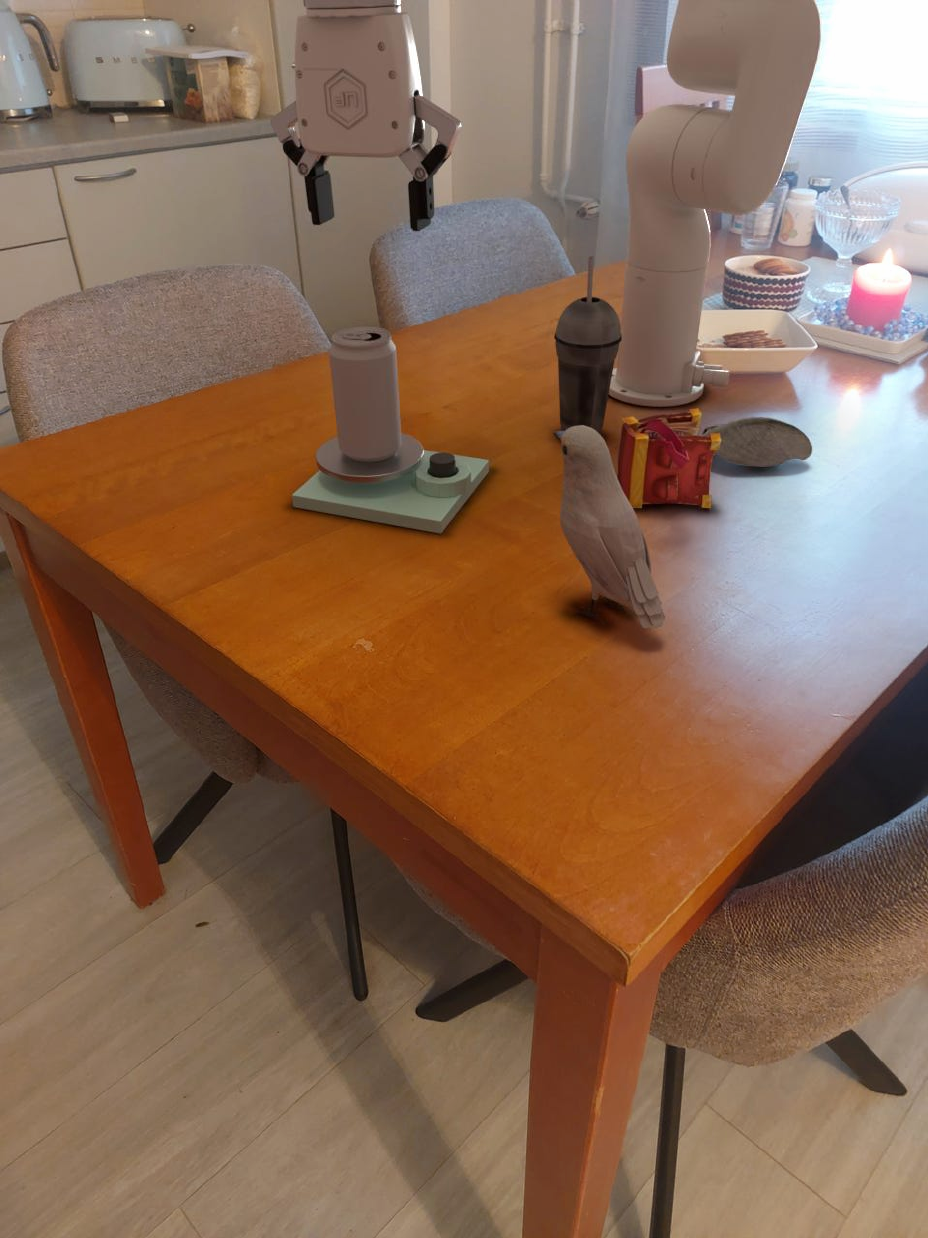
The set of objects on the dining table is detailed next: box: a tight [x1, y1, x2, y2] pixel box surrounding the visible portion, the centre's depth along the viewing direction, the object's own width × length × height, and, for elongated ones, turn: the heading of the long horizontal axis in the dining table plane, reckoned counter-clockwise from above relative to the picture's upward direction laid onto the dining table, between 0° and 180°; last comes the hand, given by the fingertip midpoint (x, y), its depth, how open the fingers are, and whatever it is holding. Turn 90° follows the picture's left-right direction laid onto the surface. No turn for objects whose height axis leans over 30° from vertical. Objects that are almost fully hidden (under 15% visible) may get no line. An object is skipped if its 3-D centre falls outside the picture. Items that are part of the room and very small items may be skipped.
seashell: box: [700, 416, 813, 468], centre depth 96 cm, size 12×8×5 cm
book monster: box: [616, 408, 721, 509], centre depth 86 cm, size 11×9×12 cm
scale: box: [291, 449, 490, 535], centre depth 92 cm, size 16×14×3 cm
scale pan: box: [315, 432, 425, 483], centre depth 91 cm, size 11×11×1 cm
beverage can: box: [328, 325, 402, 462], centre depth 88 cm, size 6×6×12 cm
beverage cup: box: [553, 255, 622, 436], centre depth 97 cm, size 7×7×20 cm
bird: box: [552, 425, 666, 629], centre depth 70 cm, size 5×14×15 cm, turn 36°
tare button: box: [429, 452, 456, 478], centre depth 89 cm, size 3×3×2 cm
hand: (371, 224), depth 80 cm, fingers open, 9 cm apart
